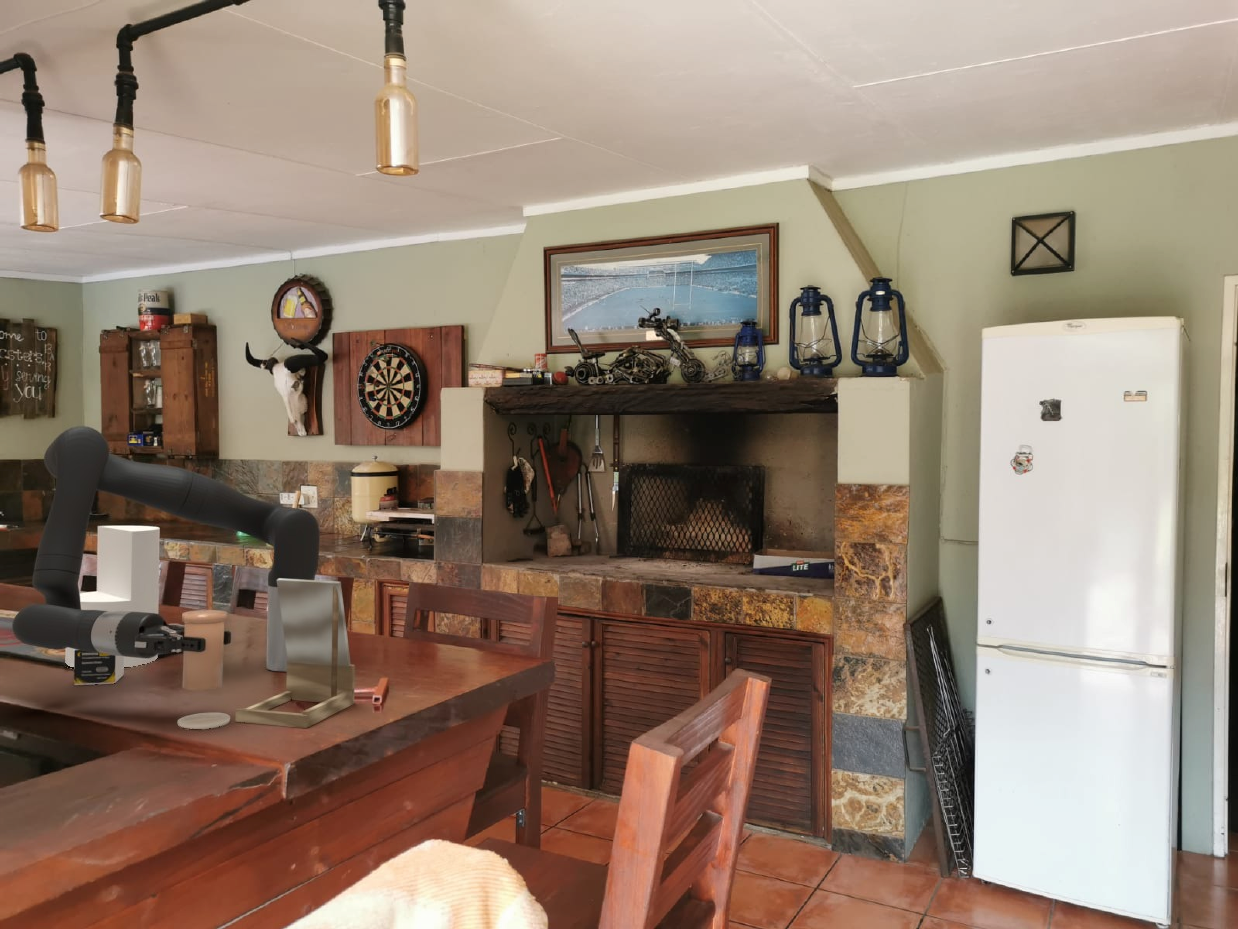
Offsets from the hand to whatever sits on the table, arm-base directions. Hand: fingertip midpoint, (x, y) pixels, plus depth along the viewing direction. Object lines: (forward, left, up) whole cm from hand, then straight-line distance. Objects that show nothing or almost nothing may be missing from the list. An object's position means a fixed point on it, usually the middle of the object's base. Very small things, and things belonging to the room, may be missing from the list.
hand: (216, 641), depth 156 cm
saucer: (0, -2, -14) cm, 14 cm away
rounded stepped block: (-34, -49, -14) cm, 61 cm away
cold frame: (-10, +9, -14) cm, 19 cm away
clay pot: (0, -3, -7) cm, 8 cm away
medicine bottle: (-19, -39, -14) cm, 46 cm away
